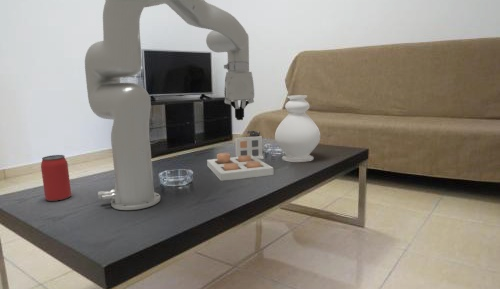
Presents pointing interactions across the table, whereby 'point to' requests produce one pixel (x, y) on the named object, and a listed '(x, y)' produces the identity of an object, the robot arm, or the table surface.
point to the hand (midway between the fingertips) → (239, 119)
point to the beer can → (55, 178)
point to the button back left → (223, 158)
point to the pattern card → (249, 146)
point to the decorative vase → (297, 131)
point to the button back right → (244, 158)
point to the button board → (239, 169)
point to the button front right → (253, 164)
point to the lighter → (254, 134)
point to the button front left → (230, 166)
